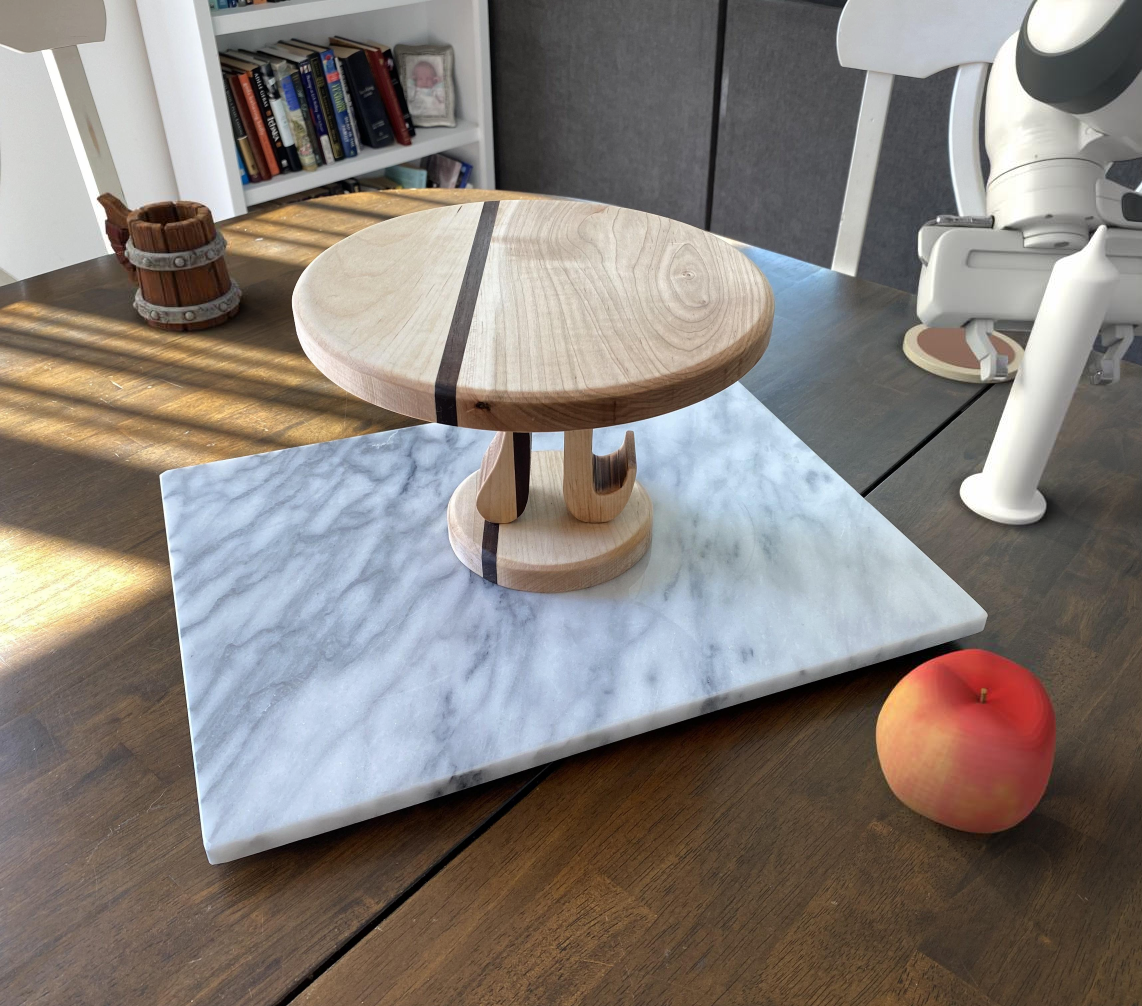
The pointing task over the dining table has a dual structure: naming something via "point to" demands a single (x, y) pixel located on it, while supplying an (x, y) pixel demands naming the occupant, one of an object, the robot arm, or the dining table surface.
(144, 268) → the mug
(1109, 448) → the dining table surface
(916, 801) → the apple
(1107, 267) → the candle
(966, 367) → the coaster
